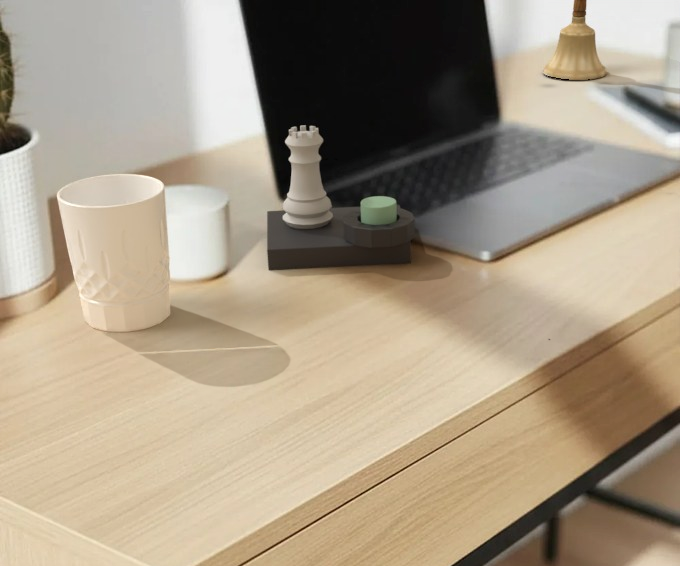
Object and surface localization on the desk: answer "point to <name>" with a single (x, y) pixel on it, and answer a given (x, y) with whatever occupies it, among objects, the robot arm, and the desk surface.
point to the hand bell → (576, 50)
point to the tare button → (378, 210)
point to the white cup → (118, 249)
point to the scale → (339, 241)
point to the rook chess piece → (306, 182)
